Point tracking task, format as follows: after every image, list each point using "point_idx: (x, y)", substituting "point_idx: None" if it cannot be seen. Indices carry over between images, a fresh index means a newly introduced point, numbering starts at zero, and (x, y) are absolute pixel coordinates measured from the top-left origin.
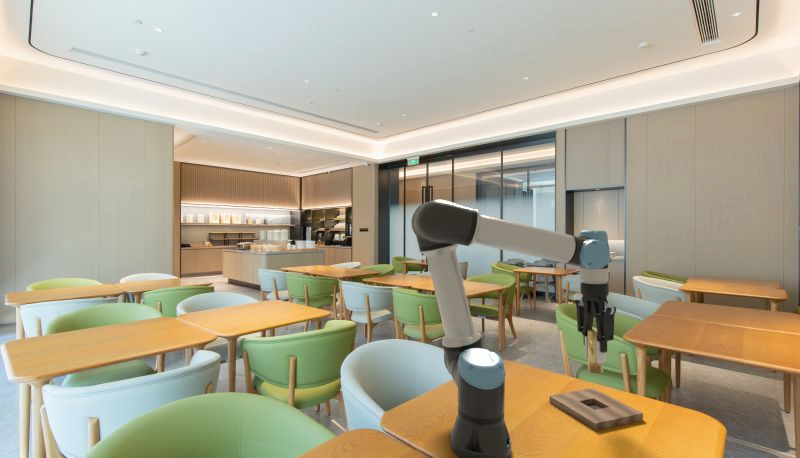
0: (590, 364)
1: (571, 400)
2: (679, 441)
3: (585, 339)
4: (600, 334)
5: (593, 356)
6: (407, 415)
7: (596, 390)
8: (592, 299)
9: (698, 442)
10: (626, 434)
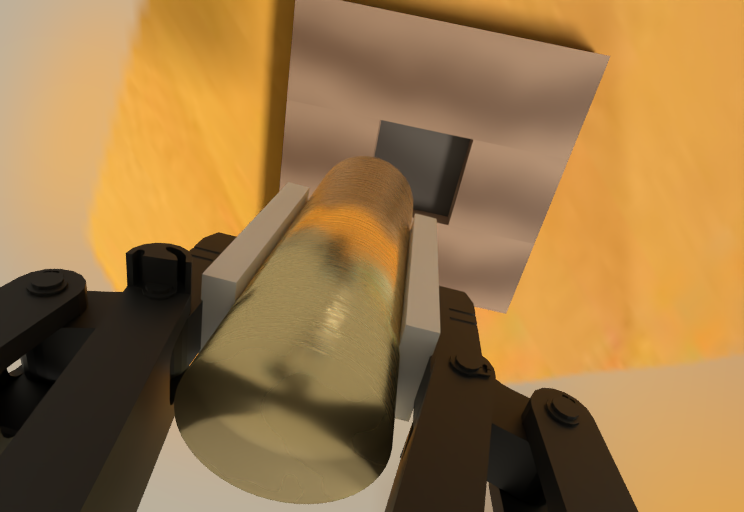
0: (363, 171)
1: (500, 114)
2: (150, 209)
3: (425, 306)
4: (109, 334)
5: (324, 199)
6: None
7: (483, 303)
8: None
9: None
10: (240, 95)
